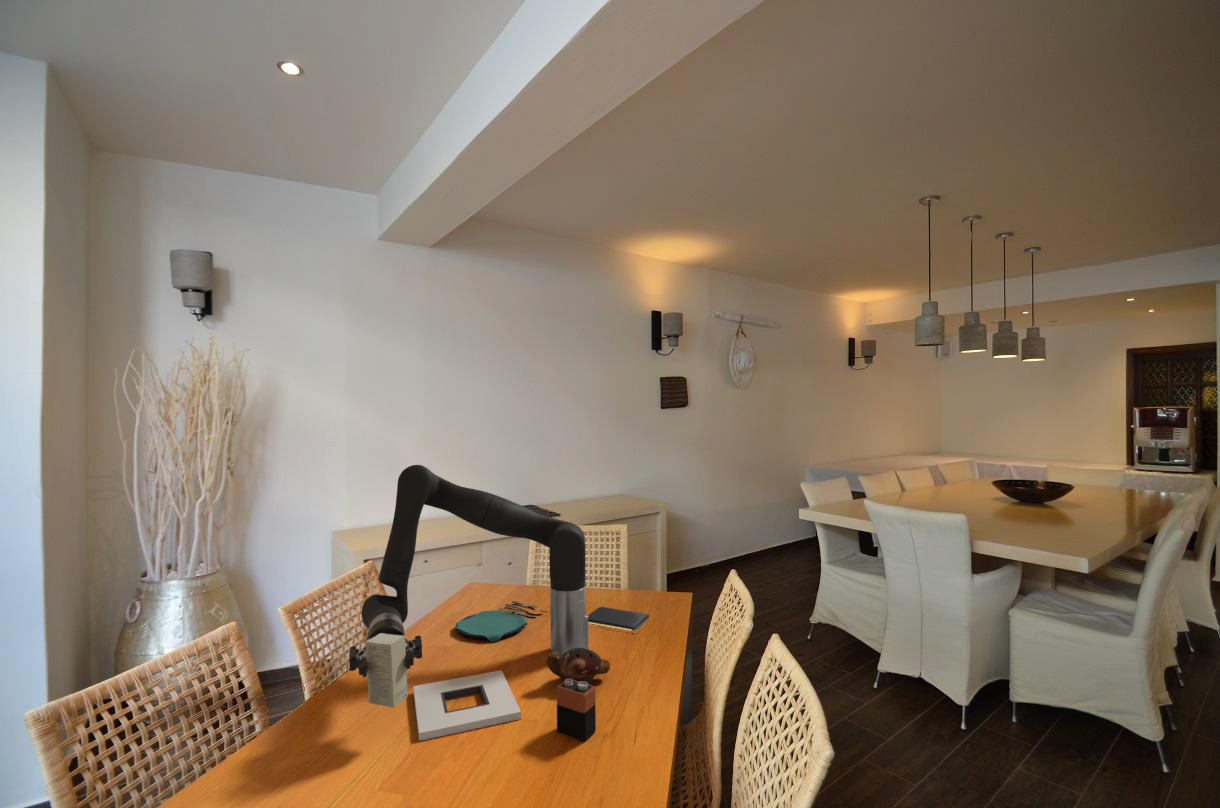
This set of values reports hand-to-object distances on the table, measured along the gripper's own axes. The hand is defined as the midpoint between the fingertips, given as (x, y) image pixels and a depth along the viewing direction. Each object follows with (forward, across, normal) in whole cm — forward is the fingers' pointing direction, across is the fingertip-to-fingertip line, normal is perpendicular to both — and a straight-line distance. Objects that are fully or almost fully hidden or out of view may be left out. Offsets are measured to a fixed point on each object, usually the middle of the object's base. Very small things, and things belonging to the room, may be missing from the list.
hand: (386, 667), depth 108 cm
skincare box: (-2, 0, +8) cm, 8 cm away
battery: (+10, +34, +16) cm, 39 cm away
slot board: (-9, +15, +15) cm, 23 cm away
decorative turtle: (-9, +41, +16) cm, 45 cm away
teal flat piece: (-53, +33, +16) cm, 65 cm away
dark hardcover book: (-41, +64, +17) cm, 78 cm away
